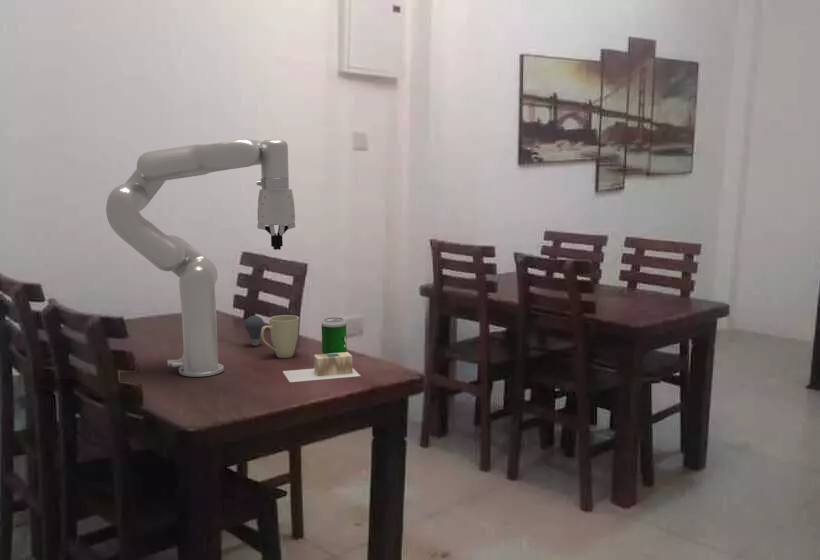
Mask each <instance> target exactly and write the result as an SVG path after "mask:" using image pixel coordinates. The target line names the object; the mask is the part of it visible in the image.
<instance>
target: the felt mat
mask: <svg viewBox="0 0 820 560" xmlns="http://www.w3.org/2000/svg"><path fill="white" fill-rule="evenodd" d="M282 373H283V375H284V376H285V377H286V379H287V380H288V382H289V383H299V382H308V381H309V382H310V381H319V380H320V381H321V380H332V379H343V378H354V377H355V378H357V377H361V374H360V373H358V372H357V370H355V368H353V367H352V373H350V374H338V375H326V376H317V375H316V373H315V372H314V368H306V369H304V368H303V369H293V370H283V371H282Z"/></svg>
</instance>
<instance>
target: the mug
mask: <svg viewBox="0 0 820 560" xmlns="http://www.w3.org/2000/svg"><path fill="white" fill-rule="evenodd" d="M299 321H300V317H299V316H297V315H291V314H282V315H280V314H279V315H273V316H270V317H269V322H268V323H269V325H264V326H263V327H262V329H261V334H260V339H261V340H262V342H263V343H265V345H266V346H268V347H269V348H270V349H272V350H274V351H275V354H276V357H277V358H280V359H288V358H292V357H293V356H294V353H295V351H296V347H297V344H298V343H297V342H298V340H299V339H298V337H299ZM267 328H268V329H270V330H269V331H270V332H269V333H270V338H271V342H272V345H271V344H270V343H268V341H266V339H265V330H266V329H267Z"/></svg>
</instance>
